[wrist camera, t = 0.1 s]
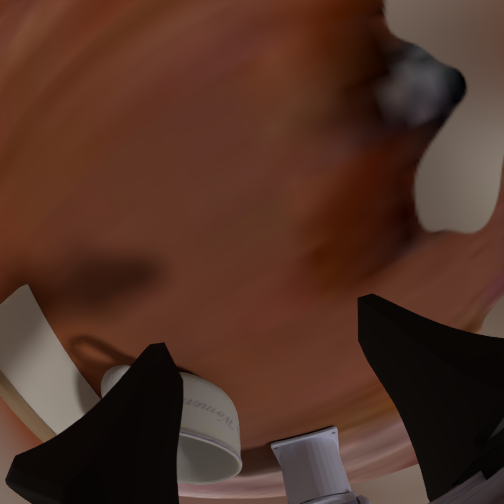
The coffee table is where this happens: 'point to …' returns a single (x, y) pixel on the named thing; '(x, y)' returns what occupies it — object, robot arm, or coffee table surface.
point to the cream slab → (38, 370)
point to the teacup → (200, 430)
